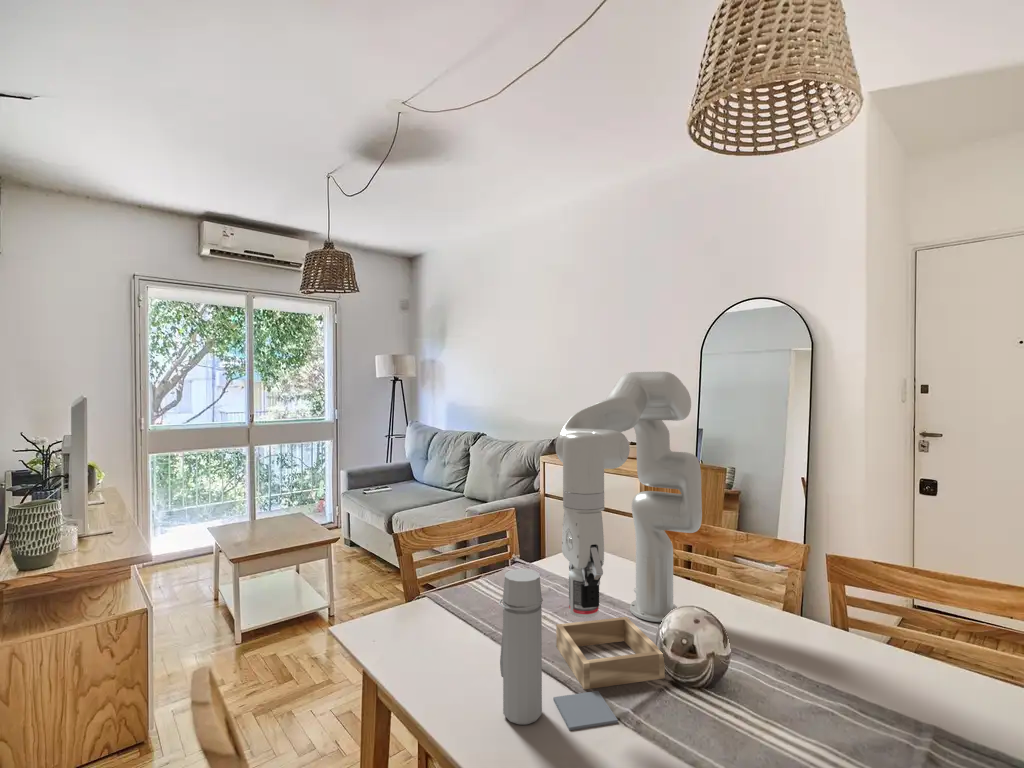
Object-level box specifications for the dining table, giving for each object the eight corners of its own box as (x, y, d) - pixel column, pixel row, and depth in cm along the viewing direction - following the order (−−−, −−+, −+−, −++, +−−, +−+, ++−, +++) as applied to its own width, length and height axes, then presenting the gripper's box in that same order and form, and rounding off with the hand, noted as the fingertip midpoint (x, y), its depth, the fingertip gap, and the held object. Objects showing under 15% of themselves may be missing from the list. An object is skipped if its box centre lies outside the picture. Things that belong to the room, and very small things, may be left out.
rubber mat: (553, 699, 97) (553, 697, 97) (598, 693, 99) (598, 690, 99) (569, 730, 88) (569, 727, 88) (617, 722, 90) (617, 719, 90)
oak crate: (556, 646, 117) (556, 624, 117) (626, 638, 121) (626, 616, 121) (583, 689, 100) (583, 663, 100) (664, 678, 104) (664, 653, 104)
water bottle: (552, 713, 93) (551, 574, 93) (521, 734, 87) (521, 586, 88) (516, 692, 99) (515, 562, 100) (485, 710, 94) (485, 572, 94)
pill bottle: (605, 614, 93) (604, 560, 93) (582, 621, 90) (582, 565, 90) (584, 604, 98) (584, 552, 98) (562, 610, 95) (562, 557, 95)
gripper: (550, 492, 102) (550, 584, 101) (580, 512, 85) (581, 622, 85) (585, 490, 103) (586, 581, 103) (622, 509, 87) (623, 618, 86)
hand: (583, 598), depth 94 cm, fingers closed on pill bottle, 5 cm apart
